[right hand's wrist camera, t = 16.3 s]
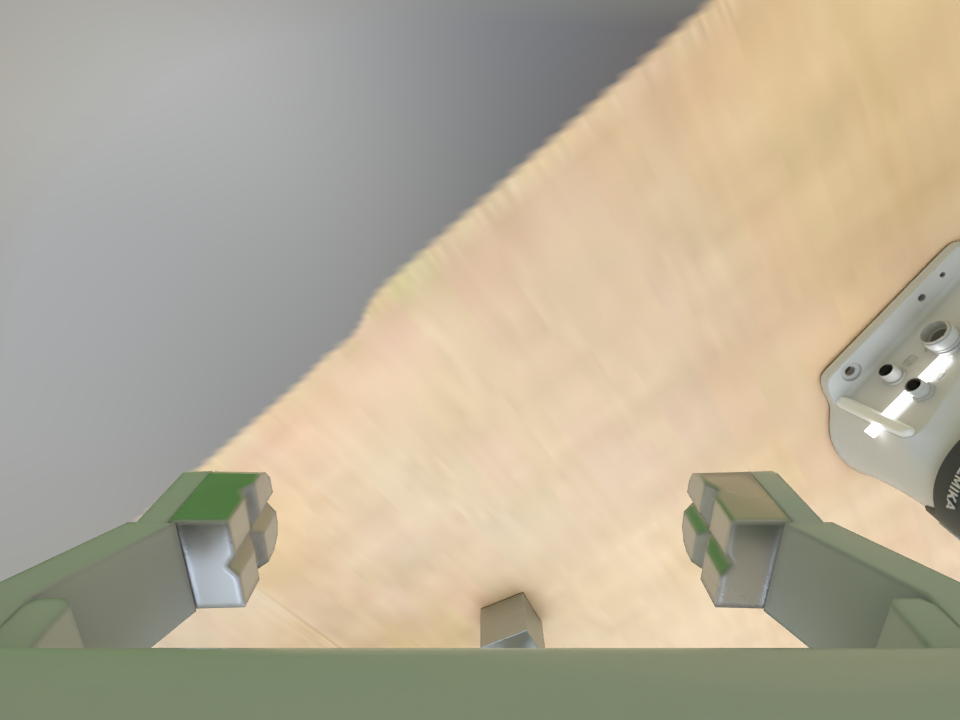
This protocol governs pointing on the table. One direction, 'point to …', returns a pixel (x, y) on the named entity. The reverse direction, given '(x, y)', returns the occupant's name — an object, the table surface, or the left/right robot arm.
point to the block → (511, 625)
